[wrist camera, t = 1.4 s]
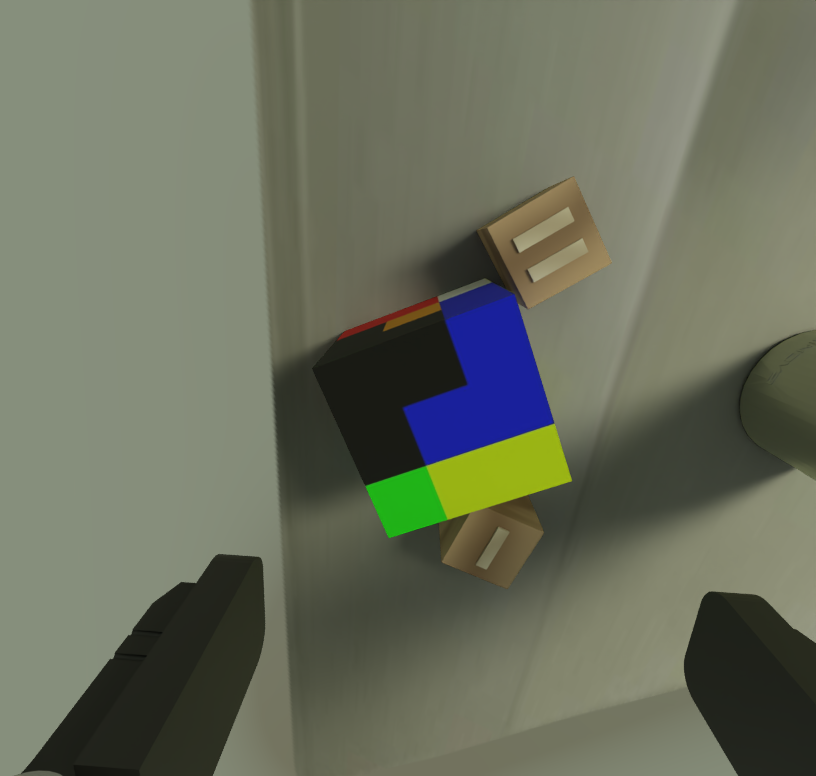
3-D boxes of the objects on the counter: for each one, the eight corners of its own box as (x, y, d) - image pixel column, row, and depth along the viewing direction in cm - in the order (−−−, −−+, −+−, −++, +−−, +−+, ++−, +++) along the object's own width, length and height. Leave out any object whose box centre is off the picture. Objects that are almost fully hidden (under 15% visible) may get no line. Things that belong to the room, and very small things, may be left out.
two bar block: (581, 260, 30) (613, 263, 25) (511, 299, 31) (528, 309, 26) (548, 187, 29) (574, 175, 24) (476, 230, 29) (487, 227, 25)
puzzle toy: (484, 278, 30) (514, 293, 21) (528, 412, 33) (572, 480, 23) (344, 331, 32) (312, 368, 22) (397, 456, 34) (388, 538, 25)
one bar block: (527, 493, 35) (544, 533, 30) (495, 544, 36) (507, 591, 31) (468, 467, 34) (476, 504, 29) (438, 519, 36) (441, 563, 31)
